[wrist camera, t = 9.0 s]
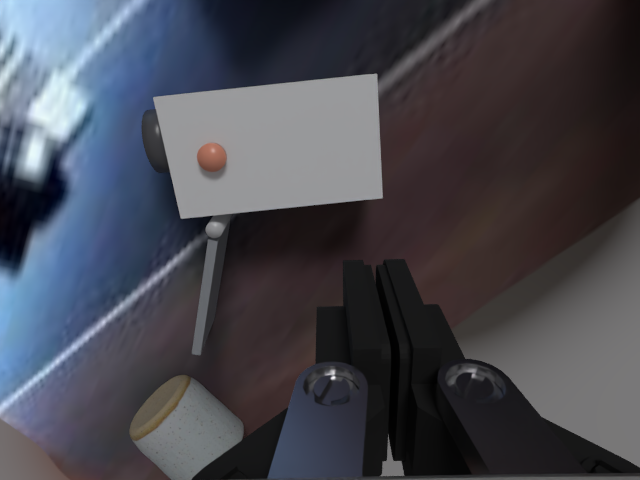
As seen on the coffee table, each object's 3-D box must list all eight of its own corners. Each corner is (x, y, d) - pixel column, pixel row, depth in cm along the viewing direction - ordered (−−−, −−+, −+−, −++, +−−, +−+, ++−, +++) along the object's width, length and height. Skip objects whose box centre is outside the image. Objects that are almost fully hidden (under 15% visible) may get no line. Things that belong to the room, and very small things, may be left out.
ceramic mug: (193, 355, 41) (168, 415, 34) (250, 406, 43) (238, 472, 36) (119, 410, 43) (81, 476, 36) (177, 455, 46) (152, 526, 38)
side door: (217, 317, 39) (203, 357, 34) (205, 315, 39) (187, 354, 34) (236, 201, 35) (223, 224, 30) (222, 198, 35) (206, 220, 30)
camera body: (363, 74, 32) (378, 73, 26) (369, 179, 35) (384, 202, 28) (161, 96, 32) (123, 100, 26) (183, 198, 35) (155, 226, 29)
